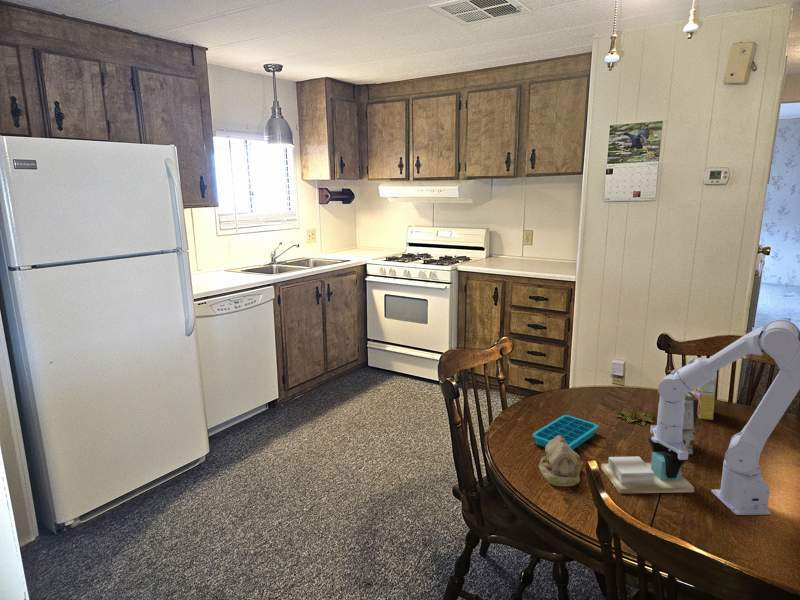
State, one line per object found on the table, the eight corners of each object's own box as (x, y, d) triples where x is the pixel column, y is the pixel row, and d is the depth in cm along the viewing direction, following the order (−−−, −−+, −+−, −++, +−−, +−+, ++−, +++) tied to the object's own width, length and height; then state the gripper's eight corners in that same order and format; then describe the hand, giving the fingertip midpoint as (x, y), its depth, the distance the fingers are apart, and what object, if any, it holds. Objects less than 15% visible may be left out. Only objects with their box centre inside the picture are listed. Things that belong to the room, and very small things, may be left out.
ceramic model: (535, 458, 141) (537, 424, 139) (577, 460, 139) (579, 426, 137) (543, 486, 127) (544, 449, 125) (589, 489, 125) (591, 452, 123)
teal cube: (680, 479, 126) (682, 461, 125) (660, 480, 126) (662, 462, 125) (669, 469, 131) (671, 451, 130) (650, 469, 131) (652, 452, 130)
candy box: (692, 407, 171) (696, 365, 168) (707, 409, 169) (711, 366, 166) (697, 418, 162) (702, 373, 159) (713, 420, 161) (718, 375, 158)
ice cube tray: (599, 434, 154) (600, 425, 153) (566, 458, 140) (566, 448, 140) (564, 422, 162) (565, 414, 162) (530, 444, 149) (530, 435, 148)
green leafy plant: (609, 419, 165) (609, 406, 164) (625, 408, 172) (626, 396, 172) (646, 431, 156) (647, 417, 155) (662, 419, 164) (663, 406, 163)
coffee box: (693, 454, 140) (699, 400, 137) (668, 452, 142) (673, 399, 138) (682, 439, 149) (688, 388, 146) (659, 437, 150) (663, 386, 147)
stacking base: (693, 492, 123) (695, 476, 122) (620, 493, 123) (621, 477, 122) (668, 466, 135) (669, 452, 134) (600, 467, 135) (601, 453, 134)
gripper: (640, 410, 133) (636, 457, 135) (669, 435, 118) (664, 487, 121) (667, 409, 133) (662, 456, 135) (699, 435, 118) (693, 487, 121)
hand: (665, 471), depth 128 cm, fingers closed on teal cube, 5 cm apart
